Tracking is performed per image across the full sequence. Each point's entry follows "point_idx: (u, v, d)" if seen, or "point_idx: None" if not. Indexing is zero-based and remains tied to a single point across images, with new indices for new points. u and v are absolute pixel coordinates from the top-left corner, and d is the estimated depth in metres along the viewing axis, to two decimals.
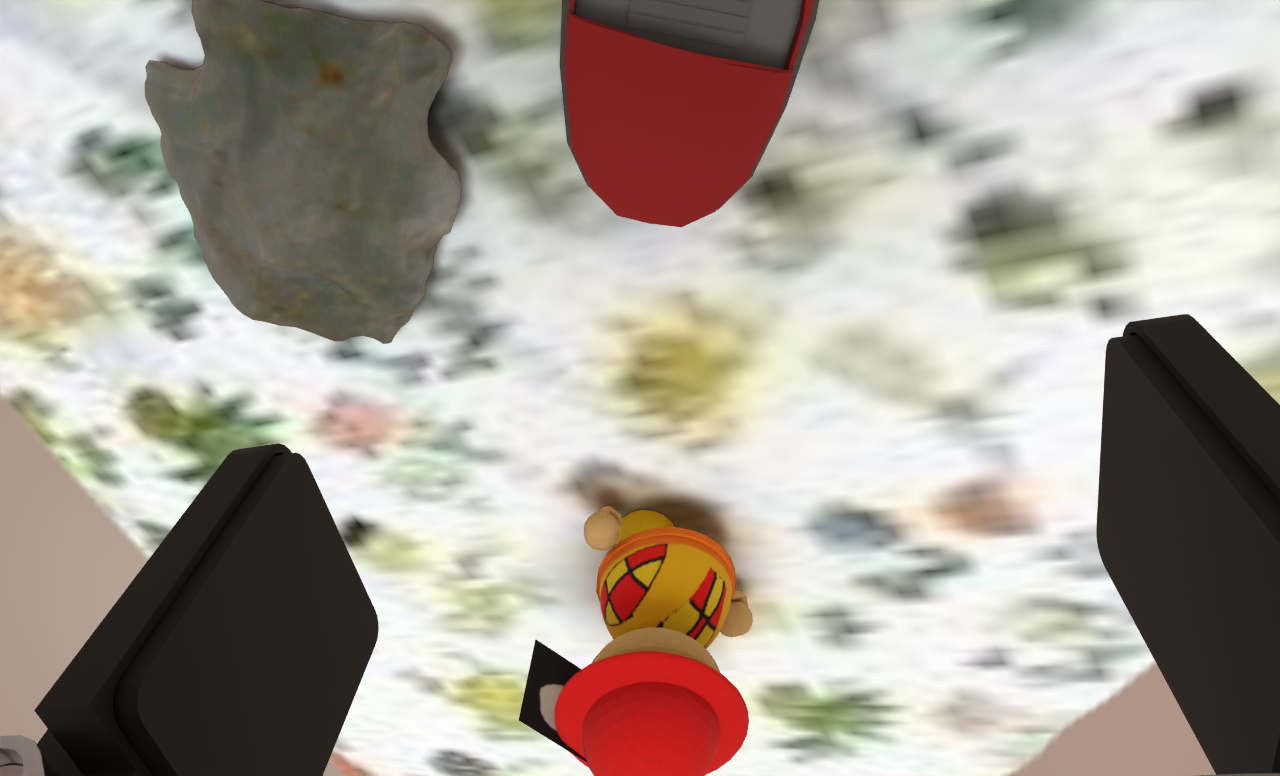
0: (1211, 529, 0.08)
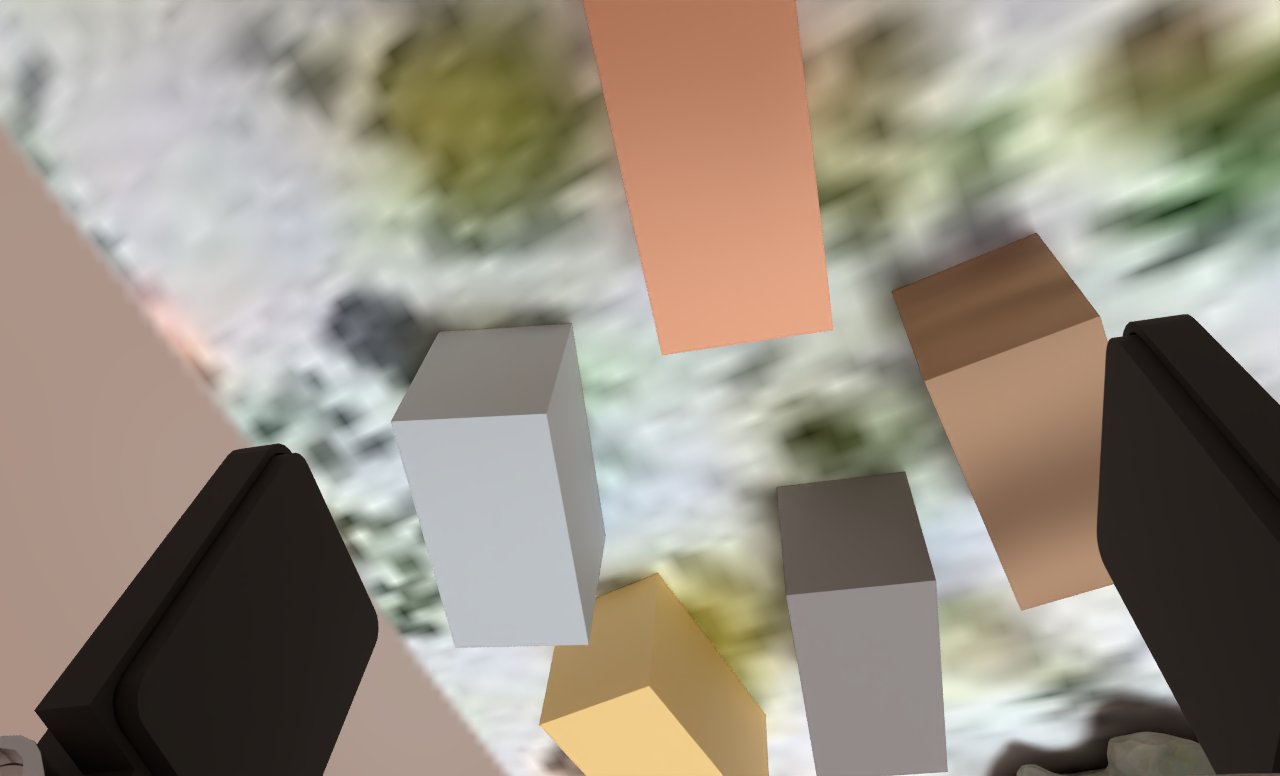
0: (1211, 529, 0.08)
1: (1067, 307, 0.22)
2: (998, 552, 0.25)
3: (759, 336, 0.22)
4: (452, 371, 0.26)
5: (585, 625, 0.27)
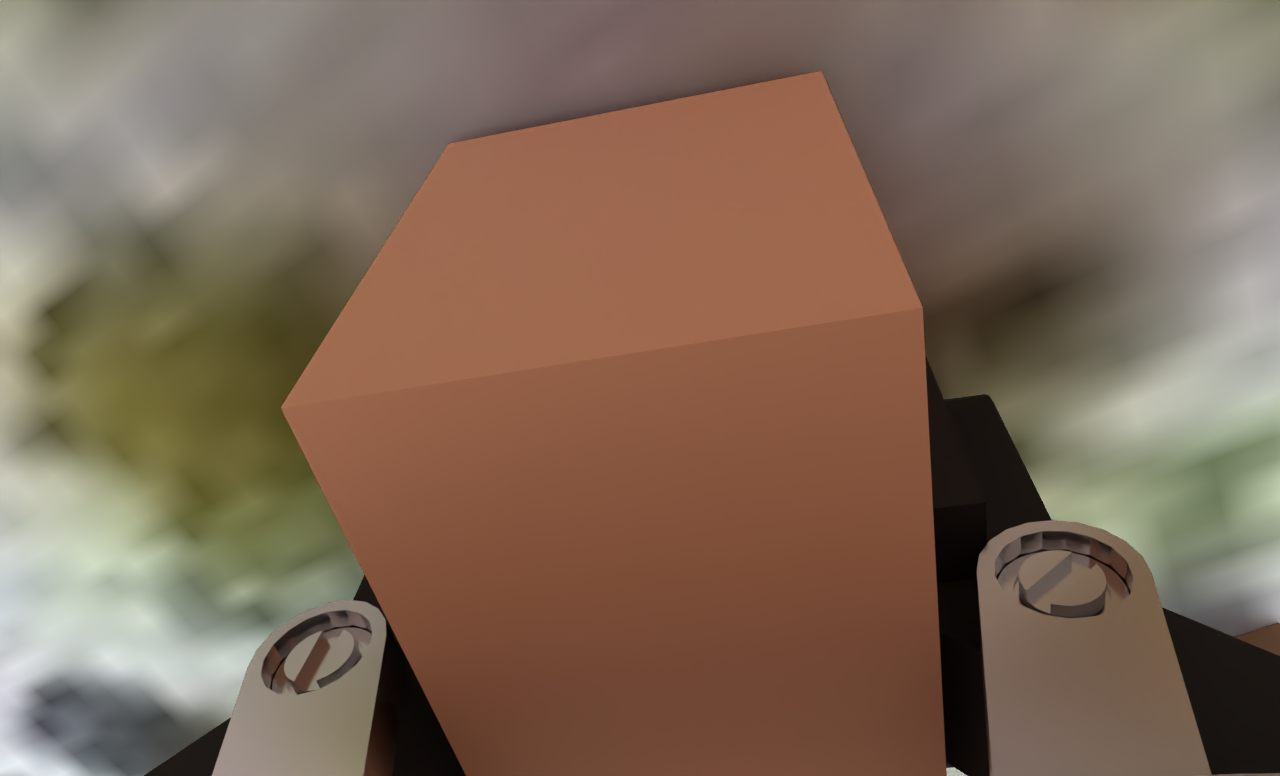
0: None
1: None
2: None
3: None
4: None
5: None
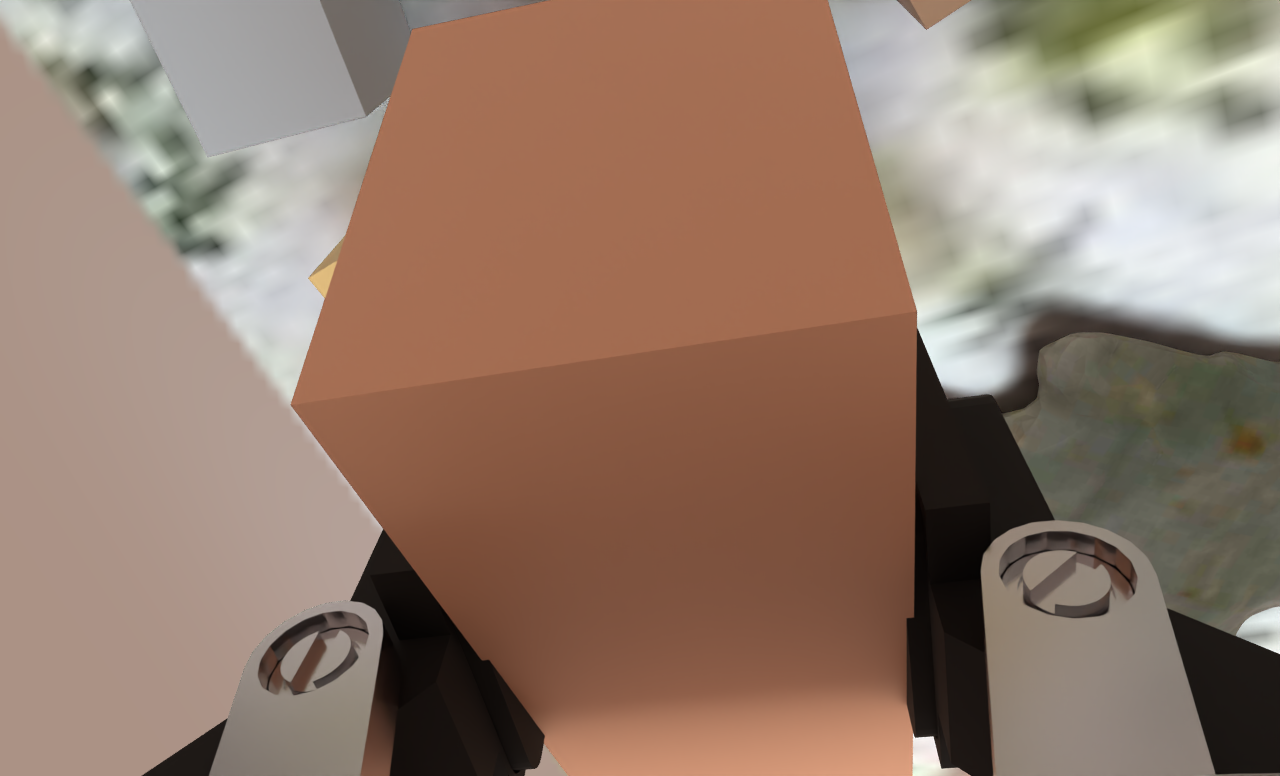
0: None
1: None
2: None
3: None
4: None
5: (354, 84, 0.21)
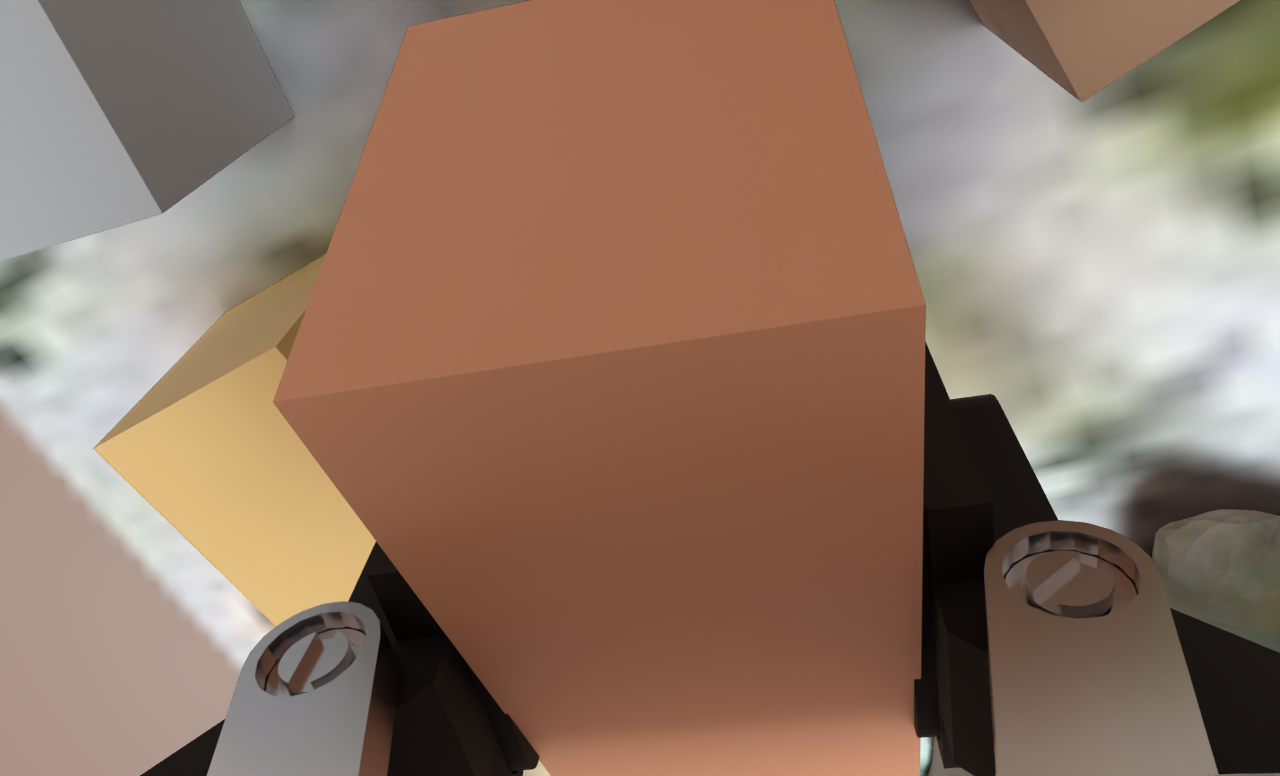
0: None
1: None
2: None
3: None
4: None
5: (136, 164, 0.13)
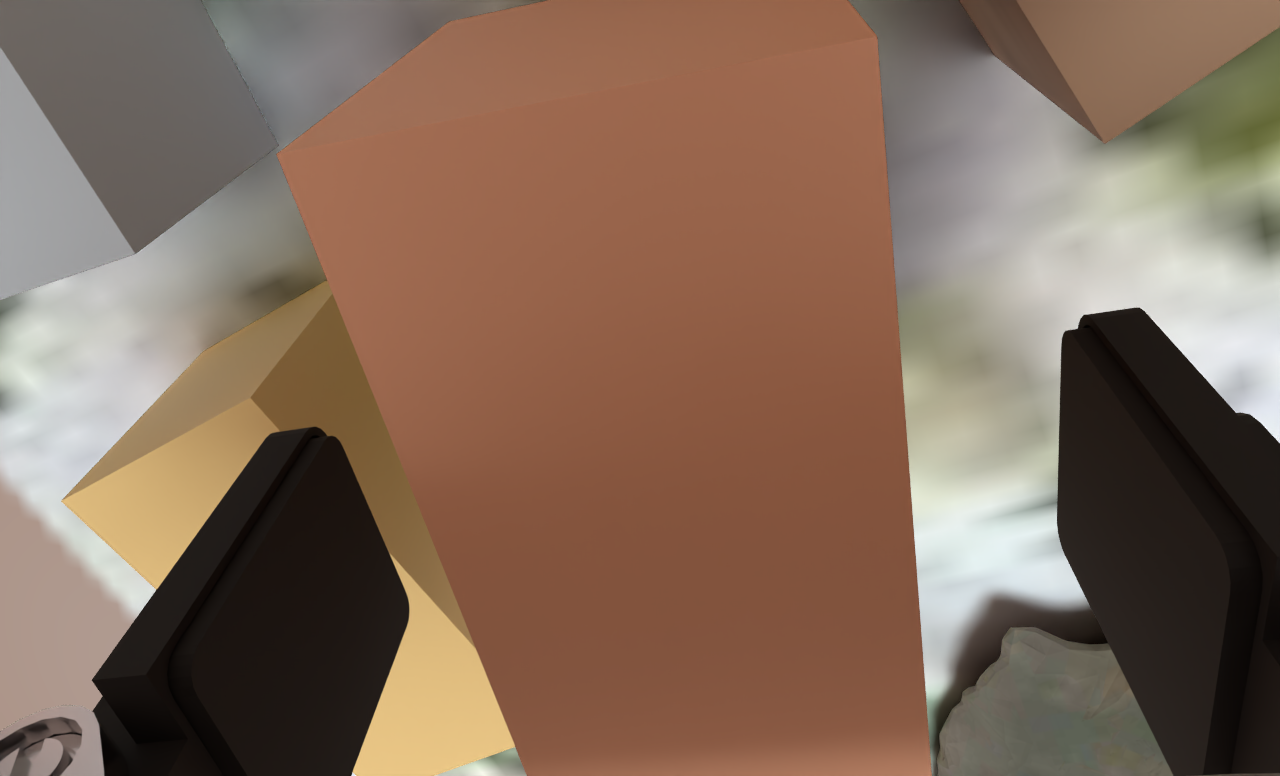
0: (1153, 513, 0.08)
1: None
2: None
3: None
4: None
5: (105, 203, 0.12)
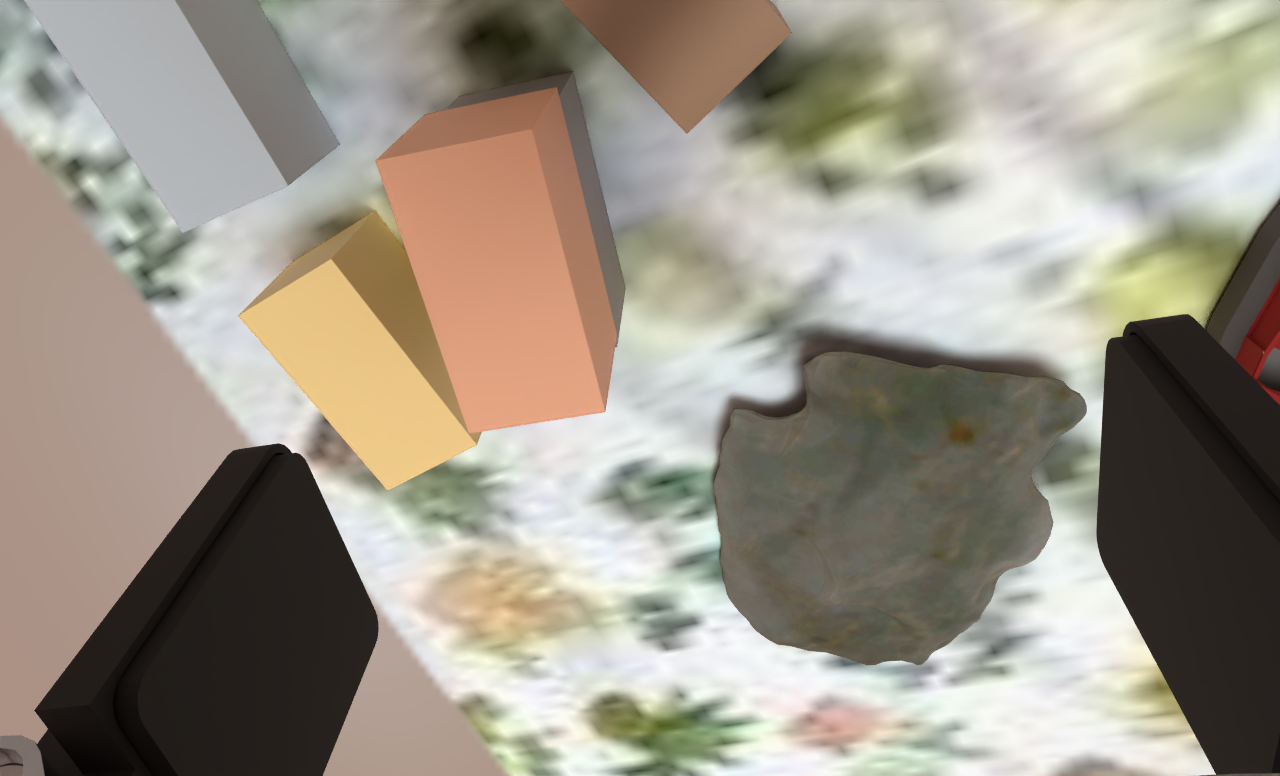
0: (1211, 529, 0.08)
1: None
2: (633, 75, 0.27)
3: (546, 417, 0.27)
4: None
5: (275, 163, 0.29)
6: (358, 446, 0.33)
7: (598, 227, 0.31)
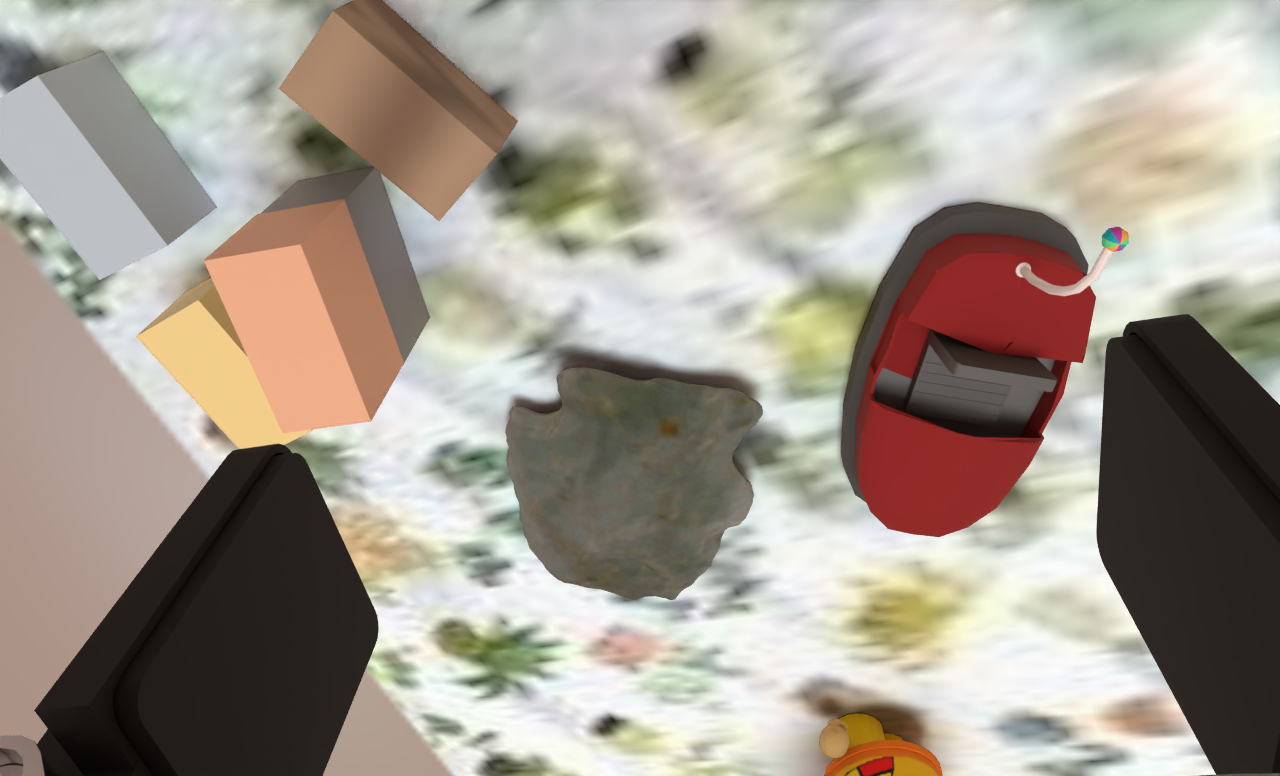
0: (1211, 529, 0.08)
1: None
2: (396, 184, 0.39)
3: (332, 424, 0.40)
4: None
5: (157, 231, 0.41)
6: (227, 430, 0.46)
7: (392, 279, 0.44)
